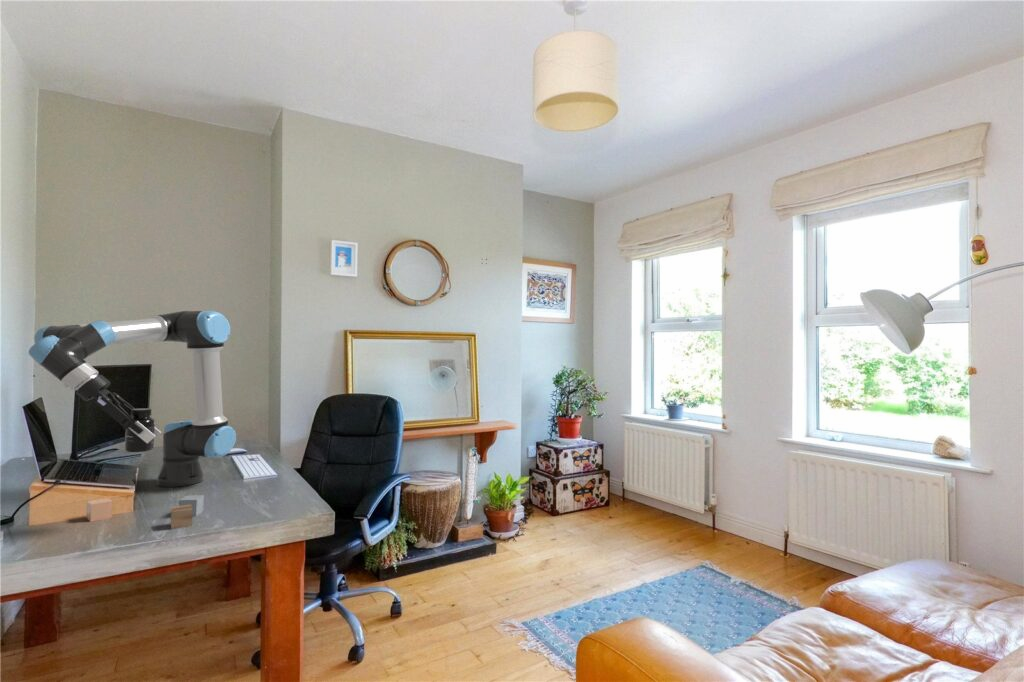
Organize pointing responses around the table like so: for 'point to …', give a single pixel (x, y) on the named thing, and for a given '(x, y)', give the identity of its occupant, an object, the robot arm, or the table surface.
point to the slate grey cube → (193, 503)
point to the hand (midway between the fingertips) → (154, 437)
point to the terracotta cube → (99, 509)
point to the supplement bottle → (134, 441)
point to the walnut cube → (181, 516)
